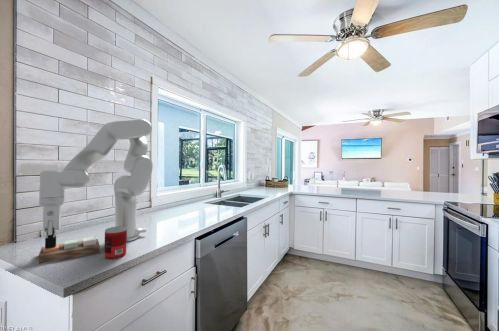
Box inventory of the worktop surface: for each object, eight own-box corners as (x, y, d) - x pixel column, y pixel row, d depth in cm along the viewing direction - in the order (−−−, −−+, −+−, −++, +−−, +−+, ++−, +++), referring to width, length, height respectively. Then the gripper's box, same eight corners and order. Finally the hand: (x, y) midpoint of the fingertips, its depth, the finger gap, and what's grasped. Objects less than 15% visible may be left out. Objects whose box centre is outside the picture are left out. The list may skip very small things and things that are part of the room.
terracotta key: (59, 251, 93) (59, 244, 93) (58, 255, 90) (58, 247, 90) (44, 254, 91) (44, 246, 91) (42, 257, 87) (43, 250, 87)
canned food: (129, 251, 98) (130, 226, 98) (119, 259, 90) (120, 231, 90) (111, 251, 97) (112, 225, 97) (100, 259, 89) (100, 231, 89)
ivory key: (95, 243, 101) (95, 236, 101) (96, 246, 97) (96, 239, 97) (82, 245, 98) (82, 238, 98) (83, 248, 95) (83, 241, 95)
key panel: (97, 245, 104) (97, 238, 104) (99, 252, 96) (99, 245, 96) (41, 254, 93) (41, 247, 93) (38, 264, 84) (38, 256, 84)
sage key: (78, 246, 97) (78, 239, 97) (78, 249, 94) (78, 242, 94) (64, 248, 94) (64, 241, 94) (63, 251, 91) (63, 244, 91)
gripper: (63, 203, 86) (62, 251, 86) (64, 198, 98) (63, 240, 98) (36, 204, 82) (35, 255, 82) (41, 199, 94) (39, 243, 94)
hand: (50, 247), depth 90 cm, fingers closed
